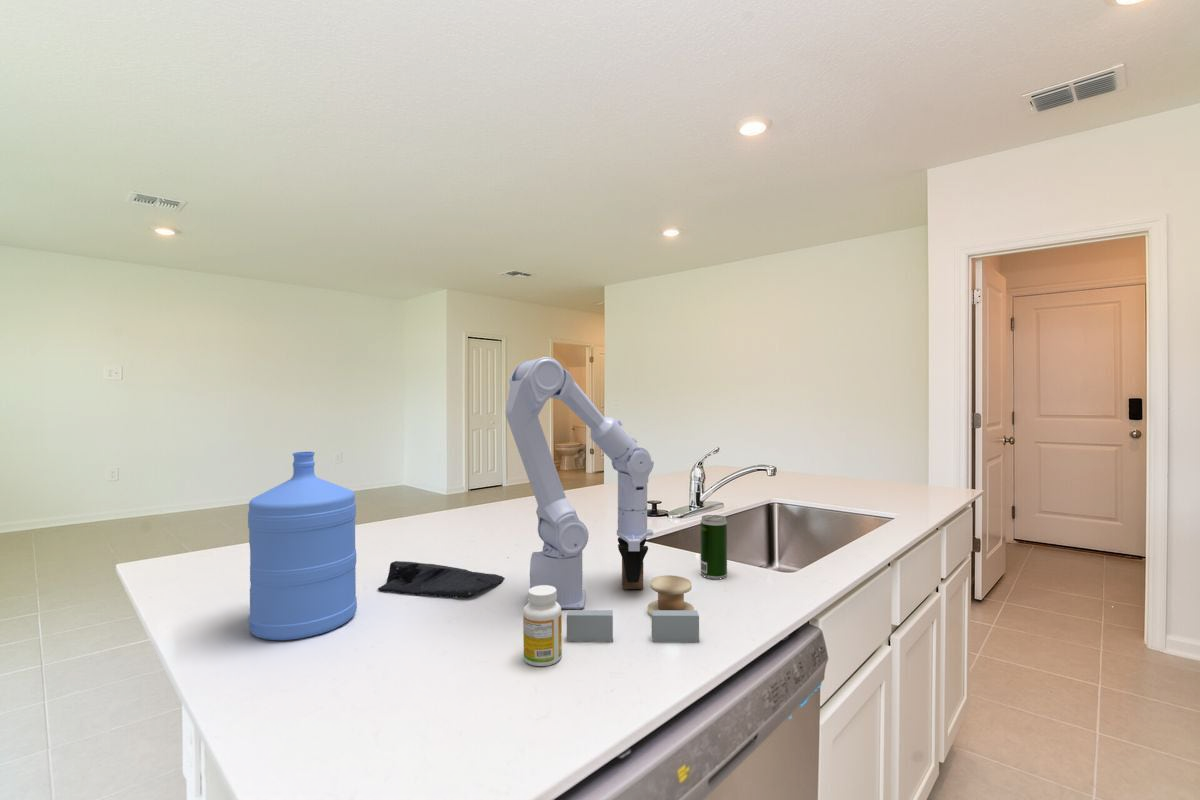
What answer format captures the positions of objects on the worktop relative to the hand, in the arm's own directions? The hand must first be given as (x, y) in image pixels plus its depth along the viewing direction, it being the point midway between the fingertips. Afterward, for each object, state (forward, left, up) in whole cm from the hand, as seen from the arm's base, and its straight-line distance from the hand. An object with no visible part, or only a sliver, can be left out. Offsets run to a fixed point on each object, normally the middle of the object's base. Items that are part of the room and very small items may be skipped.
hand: (632, 578), depth 104 cm
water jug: (-55, -16, -2) cm, 57 cm away
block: (0, 0, -2) cm, 2 cm away
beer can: (+17, +7, -2) cm, 19 cm away
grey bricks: (-1, -22, -2) cm, 22 cm away
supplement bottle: (-14, -28, -2) cm, 31 cm away
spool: (+6, -12, -2) cm, 14 cm away
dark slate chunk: (-37, +2, -3) cm, 38 cm away
